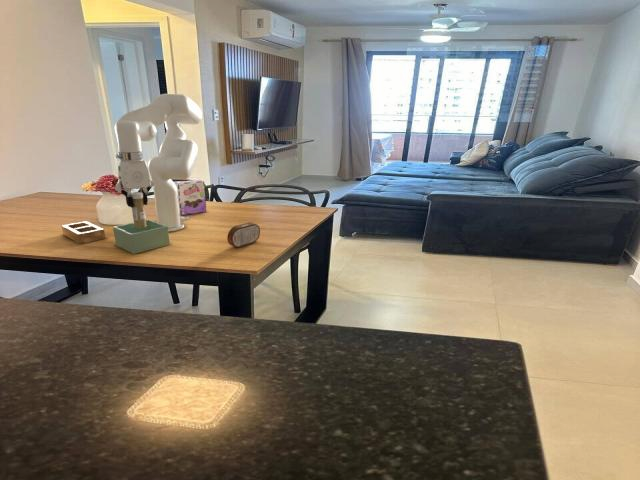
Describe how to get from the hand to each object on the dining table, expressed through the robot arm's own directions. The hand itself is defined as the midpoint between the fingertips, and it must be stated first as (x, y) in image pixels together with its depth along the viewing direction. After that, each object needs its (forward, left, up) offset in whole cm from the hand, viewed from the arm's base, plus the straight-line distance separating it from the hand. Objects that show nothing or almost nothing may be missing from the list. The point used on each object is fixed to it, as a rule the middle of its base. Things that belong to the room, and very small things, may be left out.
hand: (137, 205), depth 144 cm
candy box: (-41, -29, -16) cm, 53 cm away
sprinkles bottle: (0, 0, -9) cm, 9 cm away
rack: (+11, -27, -16) cm, 33 cm away
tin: (-27, +29, -16) cm, 43 cm away
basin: (0, 0, -16) cm, 16 cm away
